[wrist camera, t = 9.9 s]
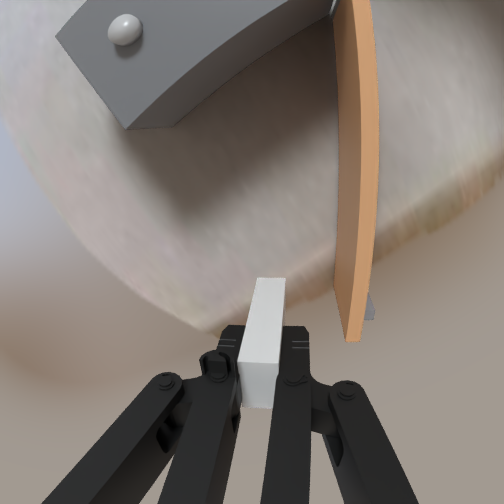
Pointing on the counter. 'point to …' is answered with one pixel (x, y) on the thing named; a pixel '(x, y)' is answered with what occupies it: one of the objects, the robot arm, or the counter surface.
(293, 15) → the camera housing
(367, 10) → the door
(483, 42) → the counter surface
